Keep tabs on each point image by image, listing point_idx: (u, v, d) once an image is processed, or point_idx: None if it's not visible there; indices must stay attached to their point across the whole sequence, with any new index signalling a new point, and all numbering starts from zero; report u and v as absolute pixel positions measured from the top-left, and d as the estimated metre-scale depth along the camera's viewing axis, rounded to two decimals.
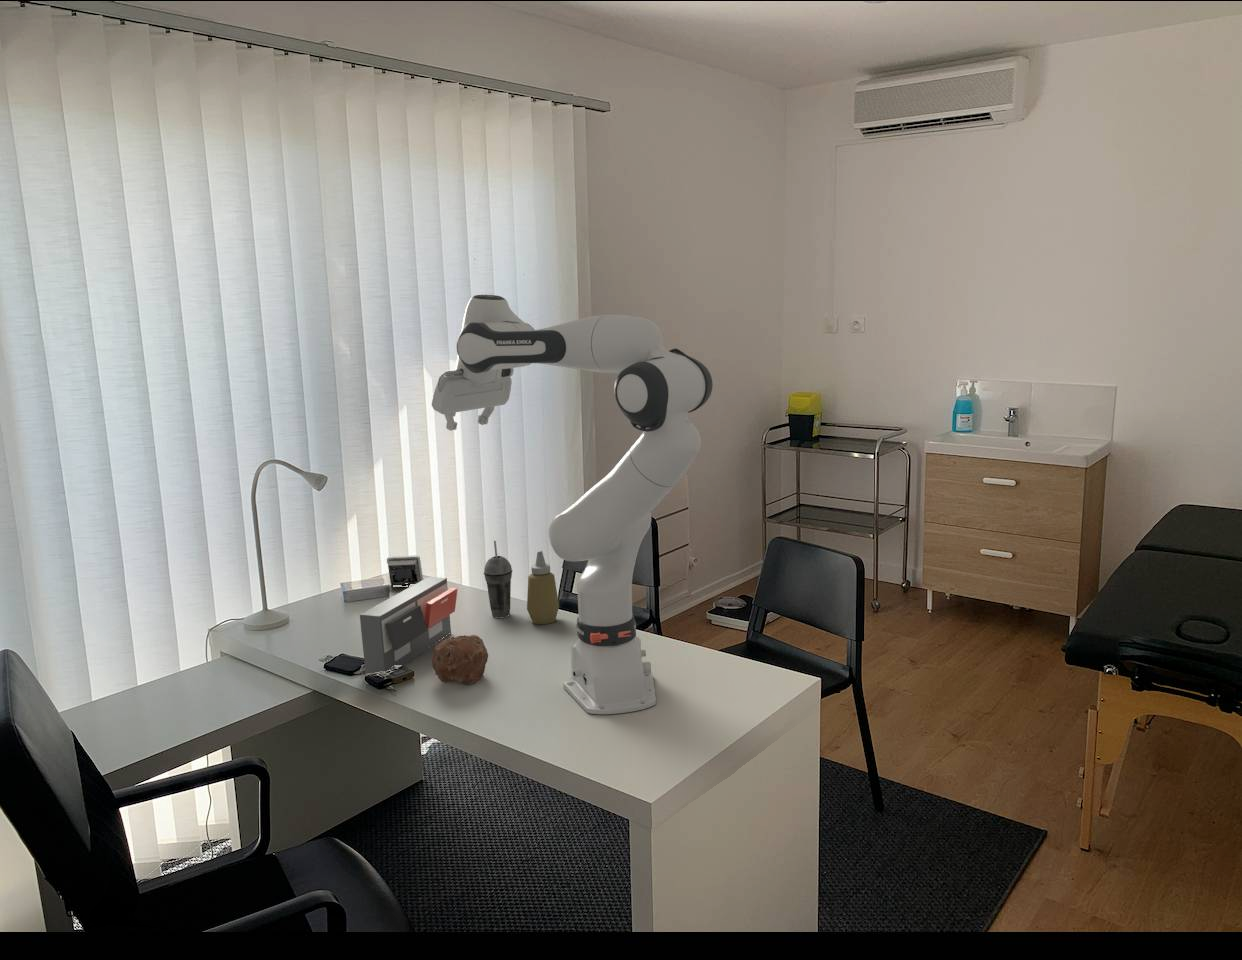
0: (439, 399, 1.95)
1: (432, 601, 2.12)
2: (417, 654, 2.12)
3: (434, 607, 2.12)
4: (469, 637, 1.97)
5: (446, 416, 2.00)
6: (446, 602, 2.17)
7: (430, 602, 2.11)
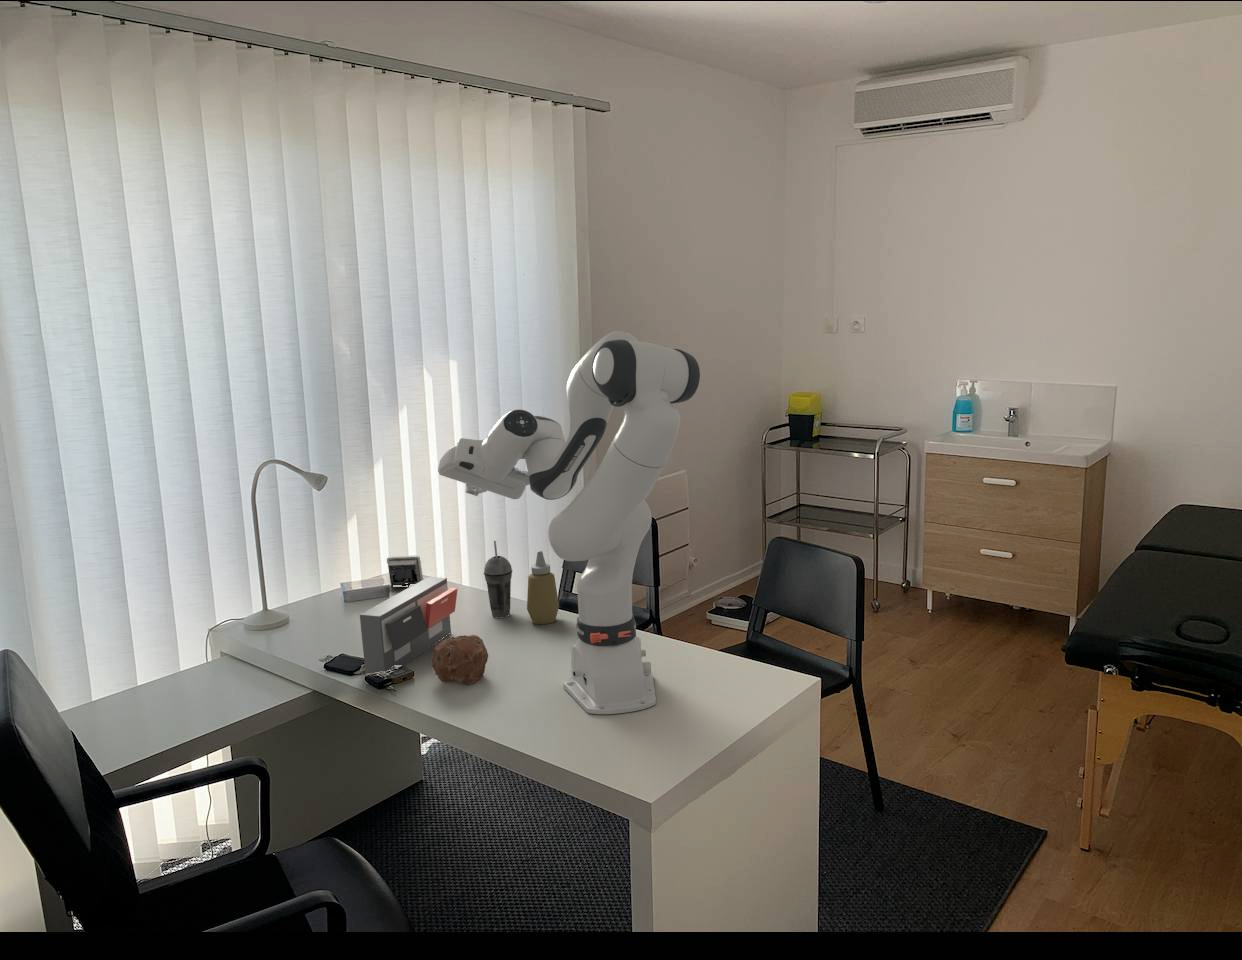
0: None
1: (432, 601, 2.12)
2: (417, 654, 2.12)
3: (434, 607, 2.12)
4: (469, 637, 1.97)
5: None
6: (446, 602, 2.17)
7: (430, 602, 2.11)
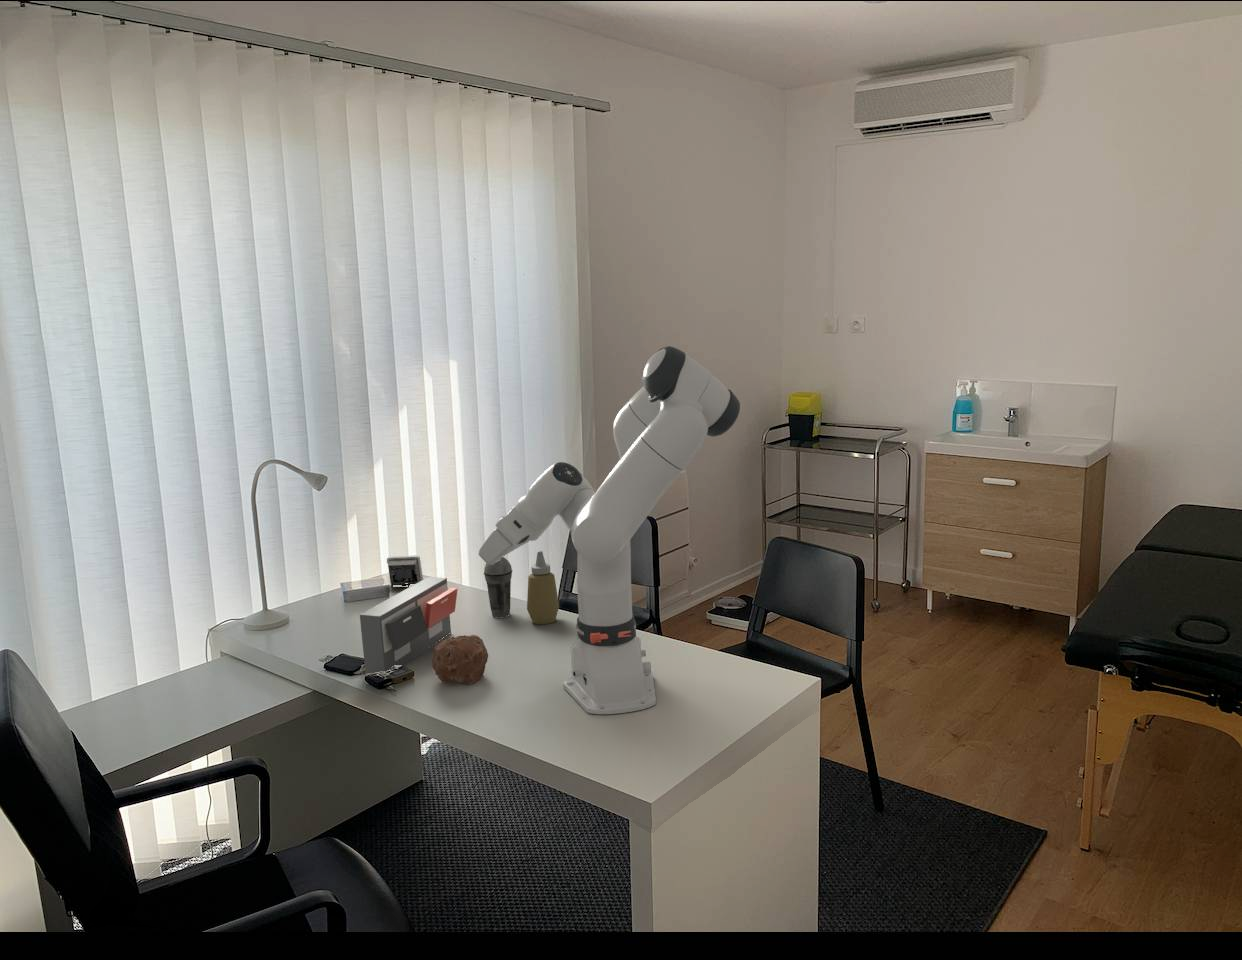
0: None
1: (432, 601, 2.12)
2: (417, 654, 2.12)
3: (434, 607, 2.12)
4: (469, 637, 1.97)
5: None
6: (446, 602, 2.17)
7: (430, 602, 2.11)
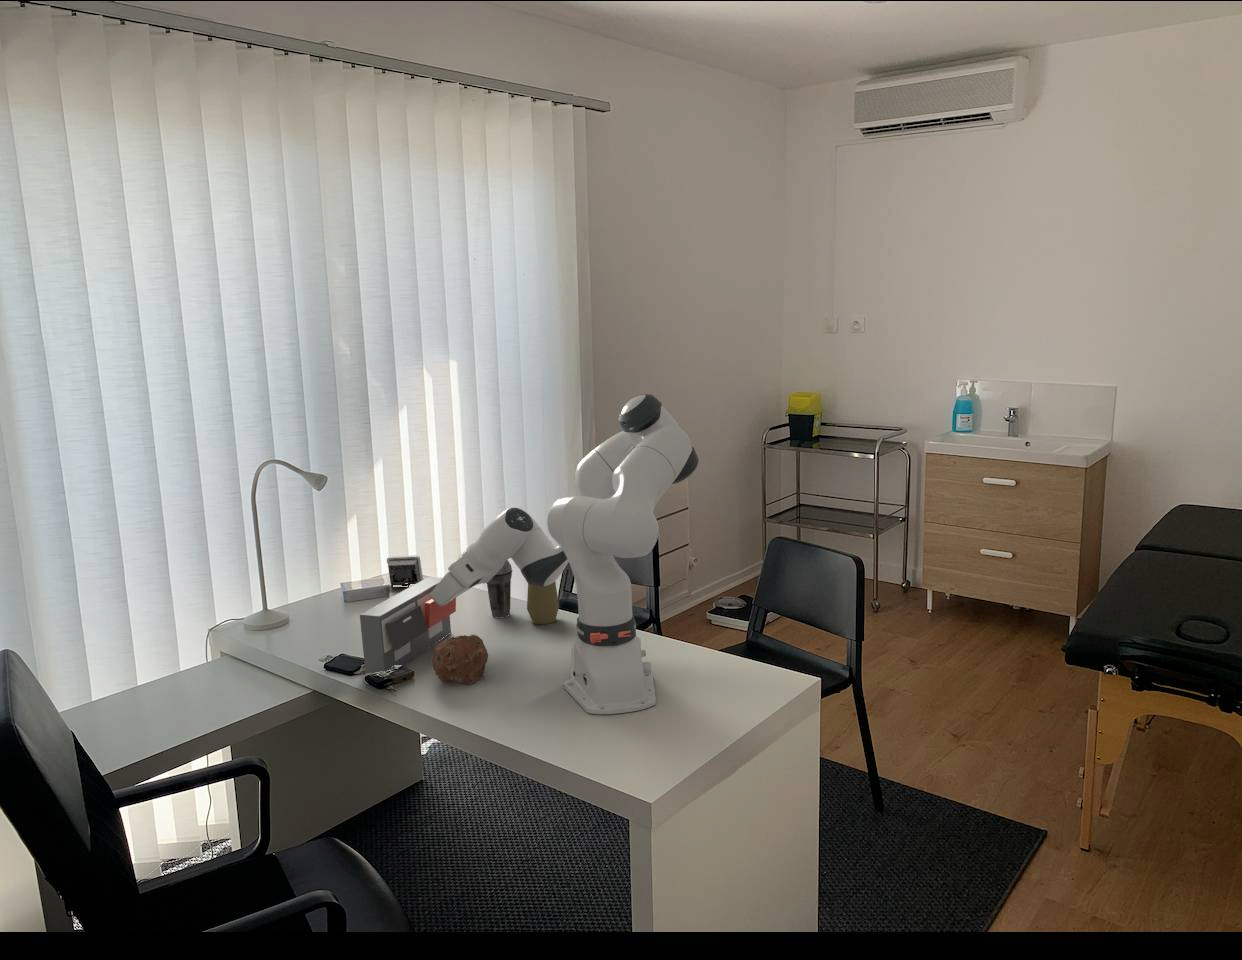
0: None
1: (430, 601, 2.12)
2: (417, 654, 2.12)
3: (433, 606, 2.12)
4: (469, 637, 1.97)
5: None
6: None
7: (428, 602, 2.11)
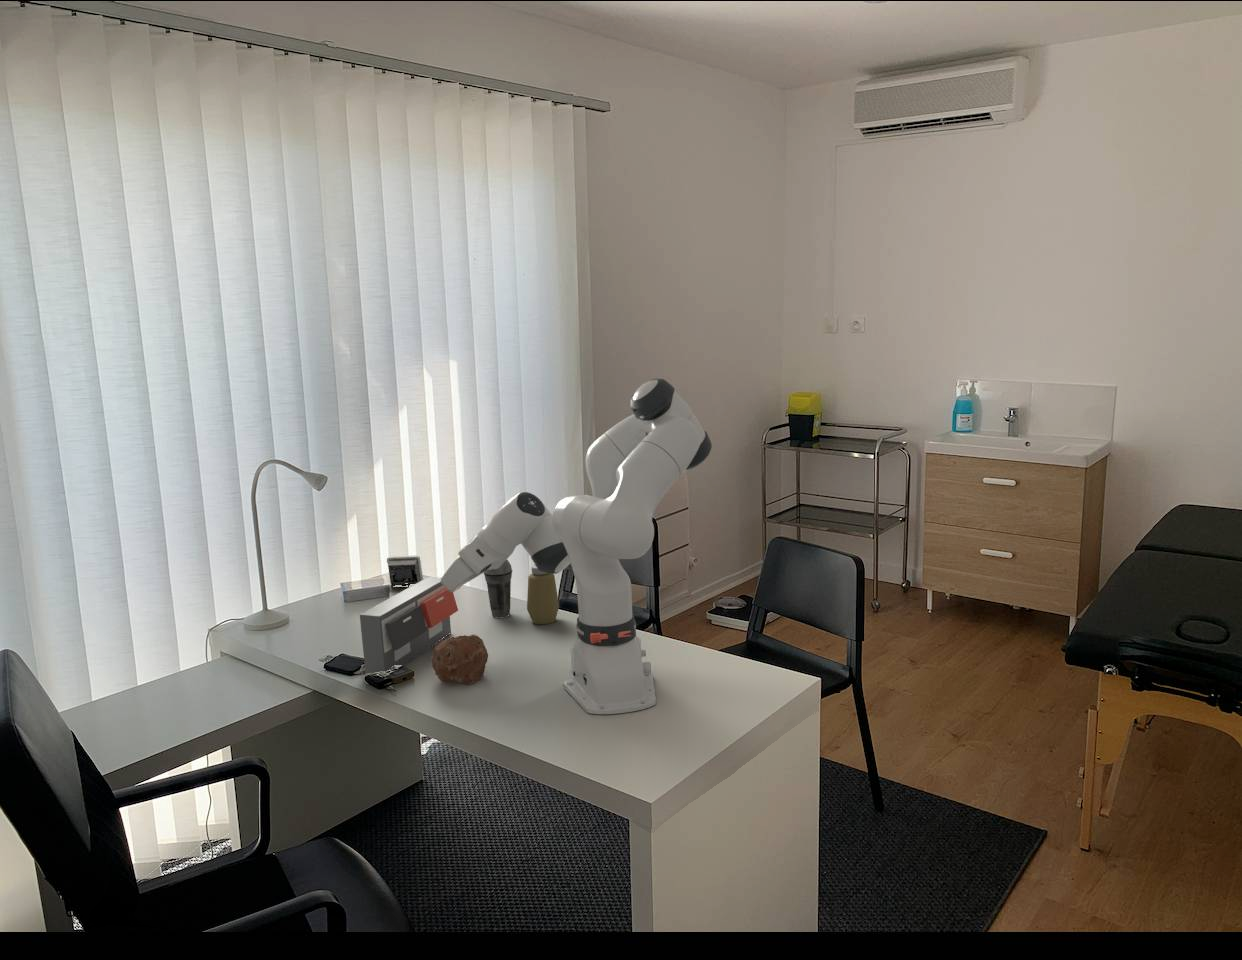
0: None
1: (426, 601, 2.12)
2: (417, 654, 2.12)
3: (430, 605, 2.13)
4: (469, 637, 1.97)
5: None
6: (443, 601, 2.18)
7: (424, 602, 2.12)
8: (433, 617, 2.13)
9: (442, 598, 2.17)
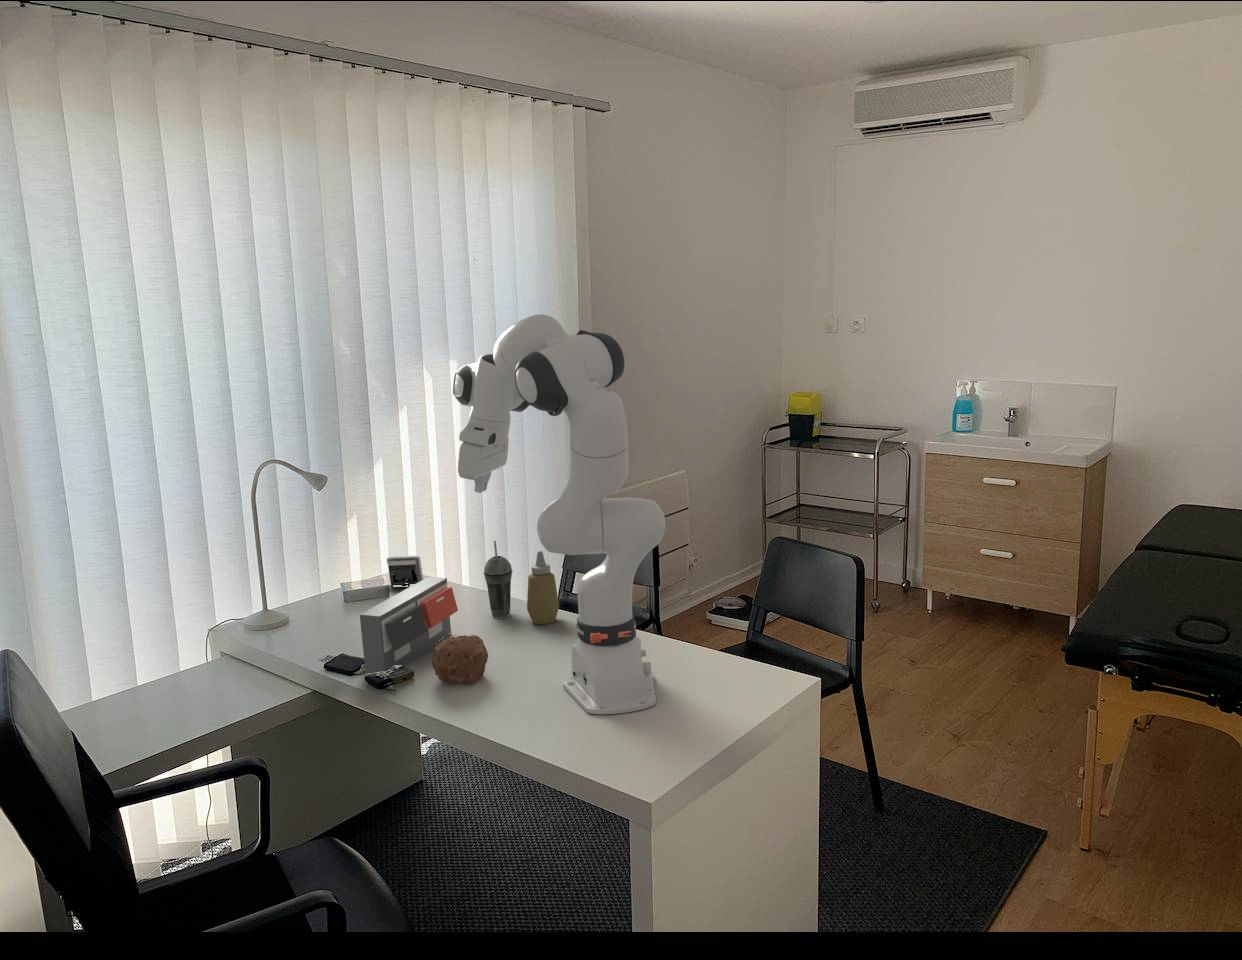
0: None
1: (426, 600, 2.12)
2: (417, 654, 2.12)
3: (430, 605, 2.13)
4: (469, 637, 1.97)
5: None
6: (443, 601, 2.18)
7: (424, 602, 2.12)
8: (433, 617, 2.13)
9: (442, 598, 2.17)
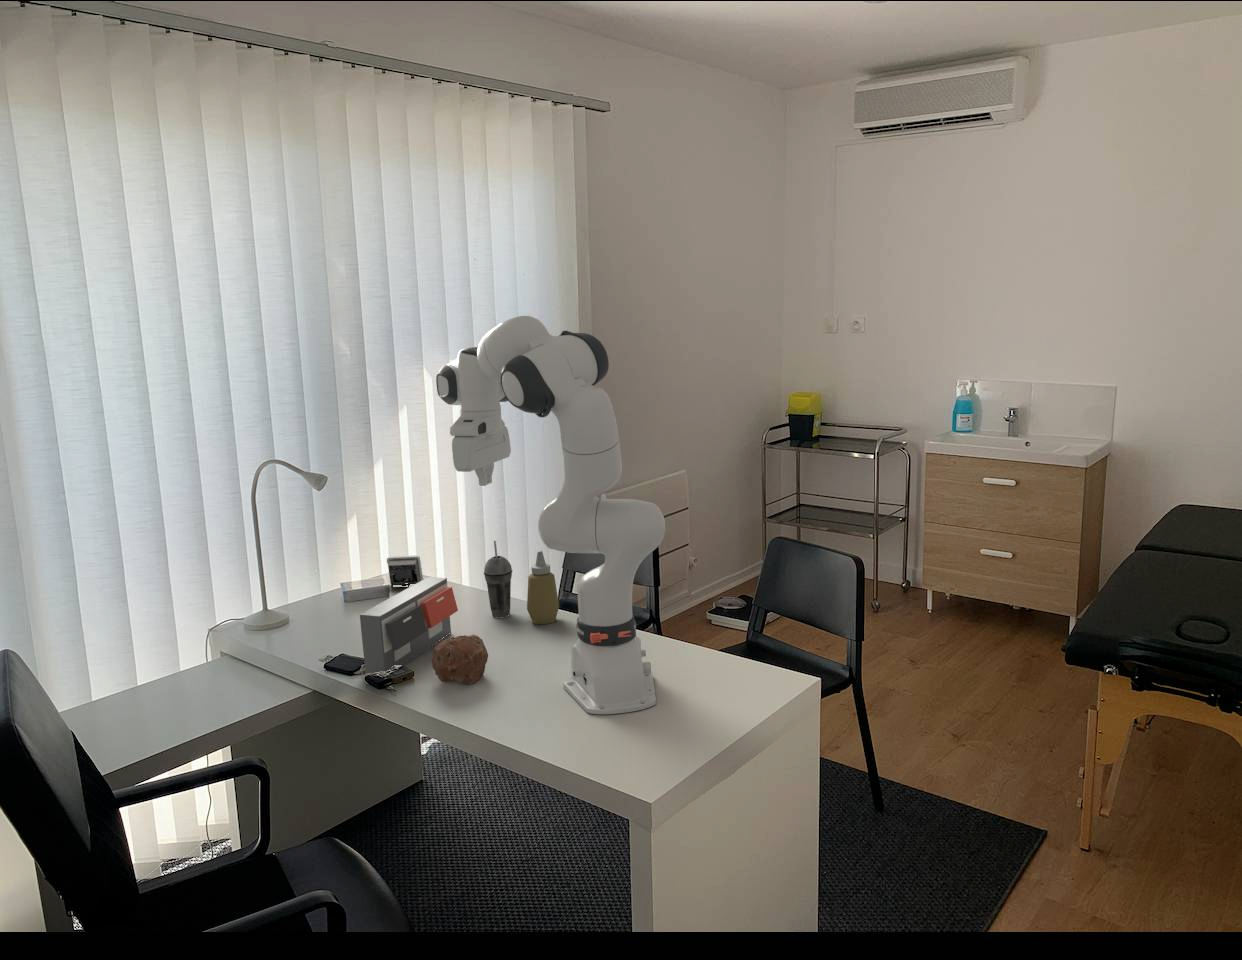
0: None
1: (426, 600, 2.12)
2: (417, 654, 2.12)
3: (431, 605, 2.13)
4: (469, 637, 1.97)
5: None
6: (443, 601, 2.18)
7: (424, 602, 2.12)
8: (433, 617, 2.13)
9: (442, 598, 2.17)
